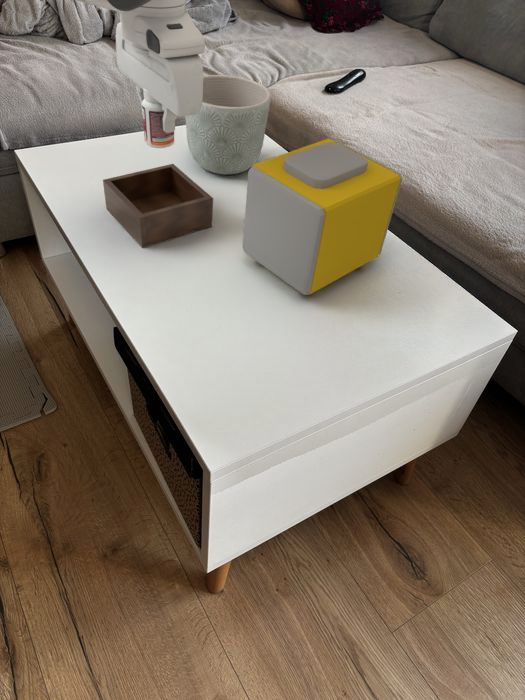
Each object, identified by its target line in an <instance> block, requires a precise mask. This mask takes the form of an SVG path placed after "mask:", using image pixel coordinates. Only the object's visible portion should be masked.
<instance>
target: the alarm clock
mask: <svg viewBox="0 0 525 700" xmlns="http://www.w3.org/2000/svg"><path fill="white" fill-rule="evenodd" d="M247 172H248V173H247V186H246V196H245V197H246V199H245V209H244V210H245V211H244V223H243V237H242V250H243V252H244V253H245V254H246V255H248V256H249V257H250V258H252V259H253V260H255V262H257V263H259V264H260V265H261V266H263V267H264V268H265V269H267V270H268V271H269V272H271V273H272V274H274V275H275V276H276V277H278V278H279V279H281V280H282V281H284V282H285V283H286V284H288V286H290V287H291V288H293V289H295V290H296V291H297V292H299V293H300V294H302V295H305V296H307V295H309V296H310V295H312V294H314V293H316V292H317V291H319V290H320V289H323V288H324V287H326V286H328V285H329V284H331V283H334V282H335V281H337V280H339V279H340V278H342V277H344V276H347V275H348V274H350V273H352V272H353V271H355V270H356V269H358V268H360V267H362V266H364V265H366V264H368V263H369V262H371V261H373V260H374V259H377V258H378V257H379V256H380V255H381V253H382V250H383V246H384V244H385V239H386V237H387V233H388V230H389V226H390V222H391V219H392V215H393V213H394V209H395V206H396V203H397V199H398V195H399V192H400V190H401V189H400V188H401V186H402V183H403V177H402V174H401V173H400V172H399V171H397V170H394V169H392V168H391V167H389V166H386V165H385V164H382V163H381V162H380V161H377V160H375V159H373V158H371V157H369V156H367V155H365V154H363V153H361V151H358V150H356V149H354V148H352V147H351V146H348V145H346V144H345V143H342V142H340V141H338V140H336V139H334V138H329V137H328V138H326V139H322V140H320V141H318V142H317V141H316V142H314V143H311V144H308V145H306V146H303V147H300V148H297V149H293V150H291V151H289V152H286V153H283V154H279V155H277V156H274V157H270V158H267V159H265V160H262V161H259V162H257V163H256V162H255V163H254V164H253V165H252V166H251V167H250V168H249V169H248V171H247Z"/></svg>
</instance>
